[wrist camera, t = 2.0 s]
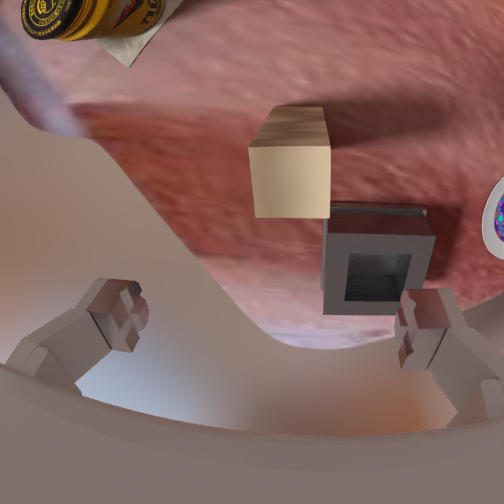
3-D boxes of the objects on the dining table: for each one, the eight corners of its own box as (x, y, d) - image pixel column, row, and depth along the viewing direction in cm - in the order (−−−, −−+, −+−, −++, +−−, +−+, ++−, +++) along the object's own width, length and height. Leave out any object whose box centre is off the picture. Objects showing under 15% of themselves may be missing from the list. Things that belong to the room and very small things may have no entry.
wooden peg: (322, 106, 24) (330, 146, 14) (323, 150, 26) (329, 218, 17) (274, 106, 25) (248, 147, 15) (277, 150, 27) (255, 217, 18)
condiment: (186, -2, 20) (107, -24, 10) (128, 68, 24) (38, 93, 15) (132, -38, 18) (43, -59, 8) (82, 31, 22) (-11, 45, 12)
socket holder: (424, 205, 27) (439, 233, 23) (406, 284, 33) (415, 317, 29) (323, 201, 29) (324, 229, 25) (320, 283, 35) (320, 316, 31)
